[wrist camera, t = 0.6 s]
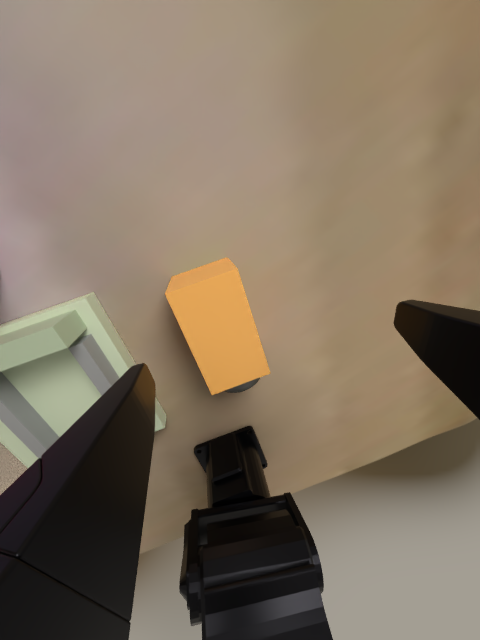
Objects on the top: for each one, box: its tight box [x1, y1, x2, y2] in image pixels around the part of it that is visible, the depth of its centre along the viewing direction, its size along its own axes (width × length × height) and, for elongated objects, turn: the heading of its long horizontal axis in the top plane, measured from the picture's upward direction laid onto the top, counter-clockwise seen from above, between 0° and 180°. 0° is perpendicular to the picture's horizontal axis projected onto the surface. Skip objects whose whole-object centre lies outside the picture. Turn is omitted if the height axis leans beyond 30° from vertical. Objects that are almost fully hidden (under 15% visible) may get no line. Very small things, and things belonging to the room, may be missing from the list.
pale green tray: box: [0, 292, 167, 468], centre depth 19 cm, size 13×12×4 cm
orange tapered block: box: [165, 258, 270, 395], centre depth 19 cm, size 9×4×5 cm, turn 18°
